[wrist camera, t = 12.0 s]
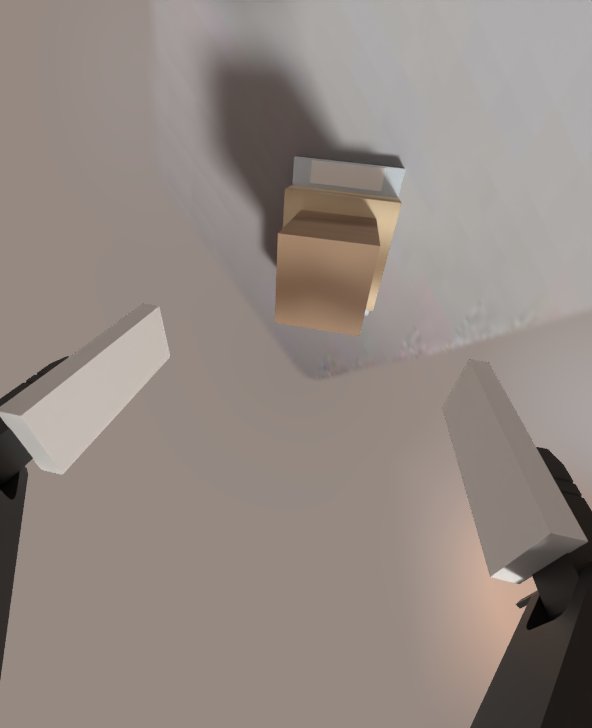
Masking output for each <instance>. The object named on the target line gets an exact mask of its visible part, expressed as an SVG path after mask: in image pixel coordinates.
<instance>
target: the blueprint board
mask: <svg viewBox="0 0 592 728" xmlns="http://www.w3.org/2000/svg"><path fill="white" fill-rule="evenodd" d="M404 173H405V168H398V167H389V166H380V165H371V164H362V163H353V162H344V161H335V160H326V159H317V158H308V157H299V156H294V166H293V182H292V185H298V186H307V187H315V188H323V189H331V190H339V191H348V192H356V193H364V194H372V195H381V196H389V197H397V198H398V196H399V192H400V188H401V185H402V181H403V177H404ZM368 313H369V310H365V314H364V315H368Z"/></svg>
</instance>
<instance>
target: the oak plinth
mask: <svg viewBox="0 0 592 728" xmlns="http://www.w3.org/2000/svg"><path fill="white" fill-rule="evenodd" d="M401 204H402V203H401V201H400V200H399V198H397V197H389V196H381V195H372V194H364V193H356V192H348V191H339V190H331V189H323V188H315V187H307V186H298V185H291V186H289V187H287V188H285V195H284V214H283V228H284V227H285V226H286V225H287V224H288V223H289V222H290V221H291V220H292V219H293V218H294V217H295V216H296V215H297V214H298V212H299V211H300V210H306V211H315V212H323V213H332V214H341V215H349V216H358V217H367V218H375V219H376V220H377V226H378V233H379V240H380V250H379V255H378V259H377V263H376V267H375V272H374V276H373V280H372V284H371V289H370V293H369V297H368V301H367V306H366V310H370V311H373V309H374V305H375V301H376V297H377V294H378V290H379V286H380V282H381V279H382V275H383V271H384V267H385V264H386V260H387V256H388V252H389V249H390V245H391V241H392V237H393V234H394V230H395V226H396V222H397V219H398V215H399V211H400V207H401Z"/></svg>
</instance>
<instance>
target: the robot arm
mask: <svg viewBox="0 0 592 728" xmlns="http://www.w3.org/2000/svg"><path fill="white" fill-rule="evenodd" d="M169 357H170V353H169V349H168V344H167V339H166V335H165V330H164V326H163V321H162V317H161V312H160V308H159V306H155V305H149V304H142V305H140V306H139V307H137V308H136V309H135V310H133V311H132V312H131V313H129V314H128V315H126V316H125V317H124V318H122V319H121V320H119V321H118V322H117V323H115V324H114V325H113V326H111V327H110V328H108V329H107V330H106V331H104V332H103V333H101V334H100V335H99V336H97V337H96V338H95V339H93V340H92V341H90V342H89V343H88V344H86V345H85V346H84V347H82V348H81V349H79V350H78V351H77V352H75V353H74V354H73V355H71V356H70V357H68V356H67V357H65V358H62V359H60V360H58V361H55V362H53V363H51V364H49V365H48V366H46V367H45V368H44V369H42V370H41V371H39V372H38V373H37V375H34V376H32V377H31V378H29V379H28V380H27V381H26V383H22V384H21V385H19V386H18V387H17V388H15V389H14V390H12V391H11V392H9V393H8V394H6V395H5V396H4V397H2V398H1V399H0V678H1V670H2V663H3V655H4V648H5V641H6V633H7V626H8V618H9V610H10V603H11V596H12V589H13V581H14V573H15V566H16V559H17V552H18V544H19V537H20V529H21V522H22V515H23V507H24V500H25V493H26V484H27V478H28V472H27V468H26V467H25V465H26V464H27V463H28V462H29V461H30V460H31V459H33V460H34V461H35V462H36V464H37V465H38V466H39V468H40V469H42V470H45V471H49V472H54V473H57V474H62V475H63V474H64V472H65V471H66V470H67V469H68V468H69V467H70V466H71V465H72V464H73V463H74V461H75V460H76V459H77V458H78V457H79V456H80V455H81V454H82V453H83V451H84V450H85V449H86V448H87V447H88V446H89V445H90V444H91V443H92V442H93V440H95V438H96V437H97V436H98V435H99V434H100V433H101V432H102V431H103V430H104V429H105V427H106V426H107V425H108V424H109V423H110V422H111V421H112V420H113V419H114V417H116V415H117V414H118V413H119V412H120V411H121V410H122V409H123V408H124V407H125V405H127V403H128V402H129V401H130V400H131V399H132V398H133V397H134V396H135V395H136V394H137V392H138V391H139V390H140V389H141V388H142V387H143V386H144V385H145V384H146V383H147V381H148V380H149V379H150V378H151V377H152V376H153V375H154V374H155V373H156V372H157V370H158V369H159V368H160V367H161V366H162V365H163V364H164V363H165V362H166V361H167V360H168V358H169ZM442 409H443V412H444V416H445V420H446V423H447V427H448V430H449V433H450V437H451V441H452V444H453V448H454V451H455V454H456V458H457V462H458V465H459V469H460V472H461V476H462V479H463V483H464V486H465V490H466V493H467V497H468V500H469V504H470V507H471V511H472V514H473V518H474V521H475V525H476V528H477V532H478V536H479V539H480V542H481V546H482V549H483V553H484V557H485V560H486V564H487V567H488V571H489V574H490V577H492V578H497V579H501V580H505V581H509V582H514V583H517V584H520V583H522V582H523V581H525V580H527V579H528V578H530V577H532V576H533V579H534V581H535V584H536V587H537V589H538V590H537V591H536V592H534V593H532V594H530V595H529V596H527V597H525V598H523V599H521V600H520V601H519V602H518V603H517V604H516V605H517V606H518V607H519V608H522V607H524V606H526V605H527V607H526V609H525V611H524V613H523V615H522V617H521V619H520V622H519V624H518V626H517V628H516V630H515V632H514V634H513V637H512V639H511V641H510V643H509V646H508V647H507V650H506V652H505V654H504V656H503V658H502V660H501V662H500V665H499V667H498V669H497V671H496V673H495V676H494V678H493V680H492V682H491V684H490V686H489V688H488V691H487V693H486V695H485V697H484V699H483V702H482V703H481V705H480V708H479V710H478V712H477V714H476V716H475V718H474V721H473V723H472V725H471V727H470V728H592V511H591V509H590V508H589V506H588V504H587V503H586V501H585V499H584V498H582V497H581V493H580V491H579V490H578V488H577V486H576V485H575V484H573V480H572V478H571V476H570V475H569V473H568V471H567V470H566V468H565V467H564V465H563V464H562V463H561V462H560V461H559V460H558V459H557V458H556V457H555V456H554V455H553V454H552V453H551V452H550V451H549V450H548V449H544V448H539V447H536V446H535V444H534V443H533V441H532V439H531V437H530V435H529V434H528V432H527V430H526V428H525V427H524V425H523V423H522V421H521V419H520V417H519V416H518V414H517V412H516V410H515V408H514V407H513V405H512V403H511V401H510V399H509V398H508V396H507V394H506V392H505V390H504V389H503V387H502V385H501V383H500V381H499V380H498V378H497V376H496V374H495V373H494V371H493V369H492V367H491V365H490V363H489V362H483V361H477V360H471V359H469V360H468V362H467V363H466V366H465V367H464V369H463V371H462V372H461V374H460V376H459V378H458V380H457V382H456V383H455V385H454V387H453V389H452V391H451V393H450V394H449V396H448V398H447V400H446V402H445V403H444V405H443V407H442Z"/></svg>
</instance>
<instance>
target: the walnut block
mask: <svg viewBox="0 0 592 728" xmlns="http://www.w3.org/2000/svg"><path fill="white" fill-rule="evenodd" d="M379 250H380V240H379V233H378V226H377V220H376V219H375V218H367V217H358V216H349V215H341V214H332V213H323V212H315V211H306V210H300V211H299V212H298V214H297V215H296V216H295V217H294V218H293V219H292V220H291V221H290V222H289V223H288V224H287V225H286V226H285V227H284V228H283V229H282V230H281V231H280V232H279V233H278V243H277V274H276V305H275V323H281V324H287V325H293V326H300V327H306V328H312V329H319V330H325V331H331V332H338V333H344V334H350V335H357V336H359V335H360V331H361V327H362V323H363V318H364V314H365V310H366V306H367V301H368V297H369V293H370V289H371V284H372V280H373V276H374V272H375V267H376V263H377V259H378V255H379Z"/></svg>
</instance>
